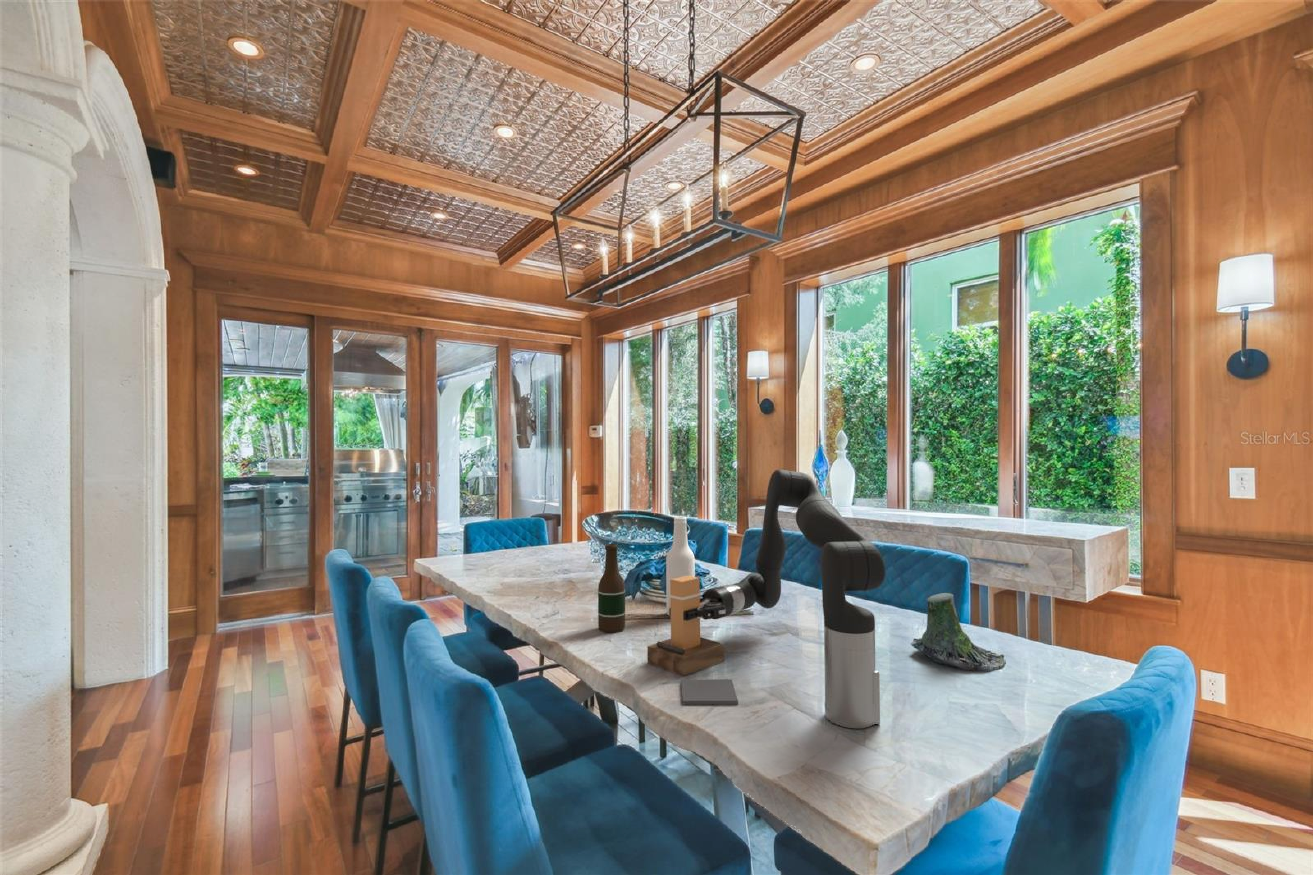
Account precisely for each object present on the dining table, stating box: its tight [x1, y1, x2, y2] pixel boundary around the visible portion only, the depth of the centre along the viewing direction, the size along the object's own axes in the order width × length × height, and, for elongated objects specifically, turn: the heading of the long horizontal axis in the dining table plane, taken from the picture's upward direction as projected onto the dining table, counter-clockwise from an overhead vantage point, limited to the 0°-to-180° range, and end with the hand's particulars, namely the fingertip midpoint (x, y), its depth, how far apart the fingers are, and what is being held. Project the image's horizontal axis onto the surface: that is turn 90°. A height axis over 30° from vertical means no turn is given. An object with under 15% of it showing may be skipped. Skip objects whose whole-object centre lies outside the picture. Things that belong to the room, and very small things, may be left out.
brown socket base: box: [646, 636, 725, 677], centre depth 143 cm, size 12×14×5 cm
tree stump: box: [910, 592, 1007, 672], centre depth 144 cm, size 18×20×18 cm
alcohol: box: [665, 516, 696, 616], centre depth 184 cm, size 9×9×30 cm
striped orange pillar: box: [670, 576, 701, 650], centre depth 143 cm, size 4×6×18 cm
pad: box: [680, 678, 739, 706], centre depth 125 cm, size 11×11×1 cm
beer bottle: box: [597, 543, 626, 634], centre depth 170 cm, size 8×8×24 cm
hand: (677, 614), depth 141 cm, fingers closed on striped orange pillar, 4 cm apart
